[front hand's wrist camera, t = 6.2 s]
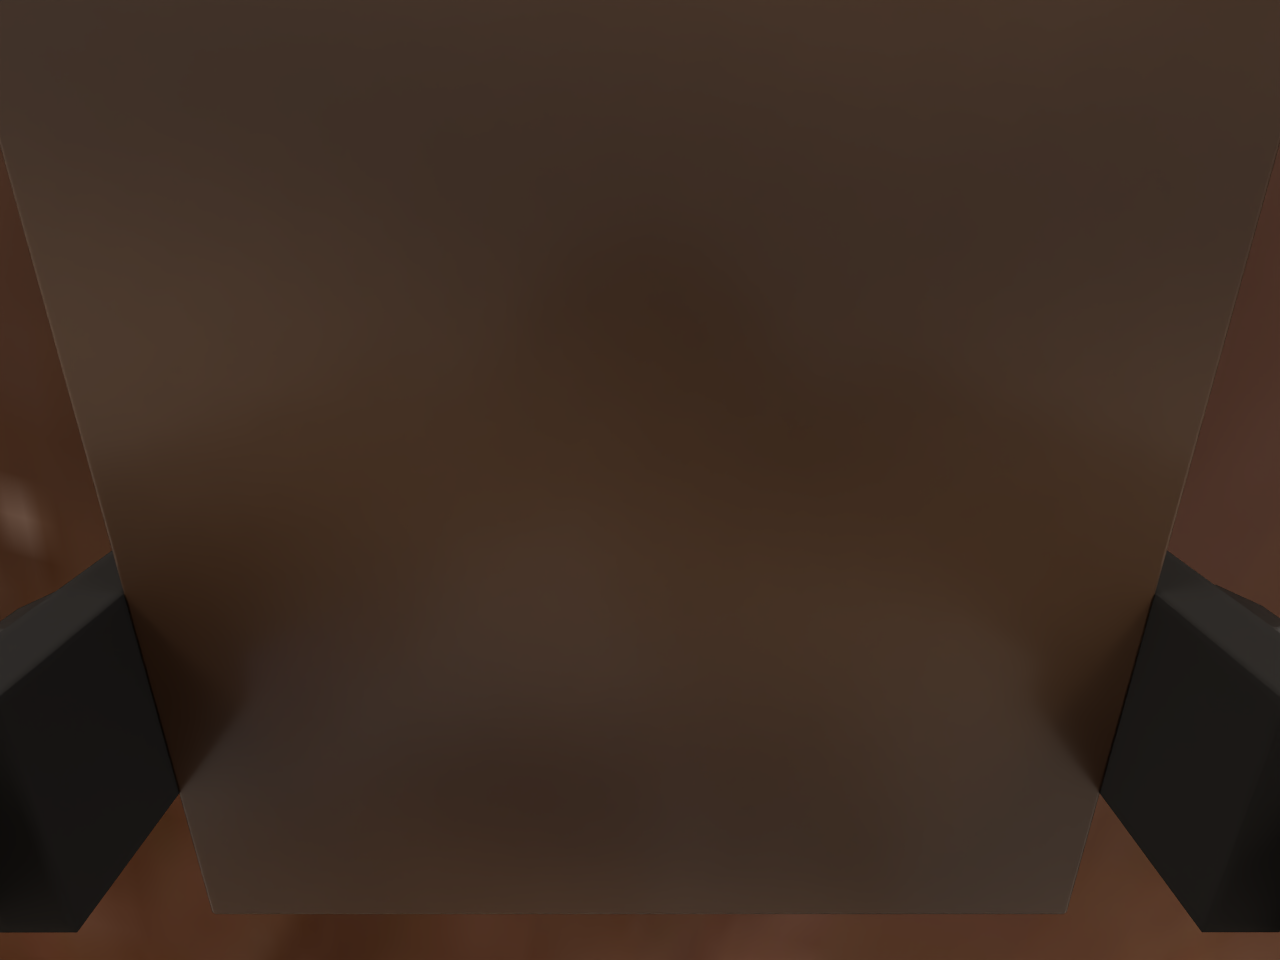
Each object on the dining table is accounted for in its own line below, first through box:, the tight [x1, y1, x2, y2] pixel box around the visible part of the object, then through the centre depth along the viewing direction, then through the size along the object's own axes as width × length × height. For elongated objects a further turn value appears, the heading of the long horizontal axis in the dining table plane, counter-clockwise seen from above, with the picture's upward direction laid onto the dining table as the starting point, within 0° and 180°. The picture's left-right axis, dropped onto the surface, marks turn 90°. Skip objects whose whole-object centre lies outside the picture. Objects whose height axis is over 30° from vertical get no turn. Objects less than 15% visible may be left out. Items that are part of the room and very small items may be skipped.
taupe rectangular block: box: [0, 0, 1280, 914], centre depth 11 cm, size 18×11×10 cm, turn 0°
